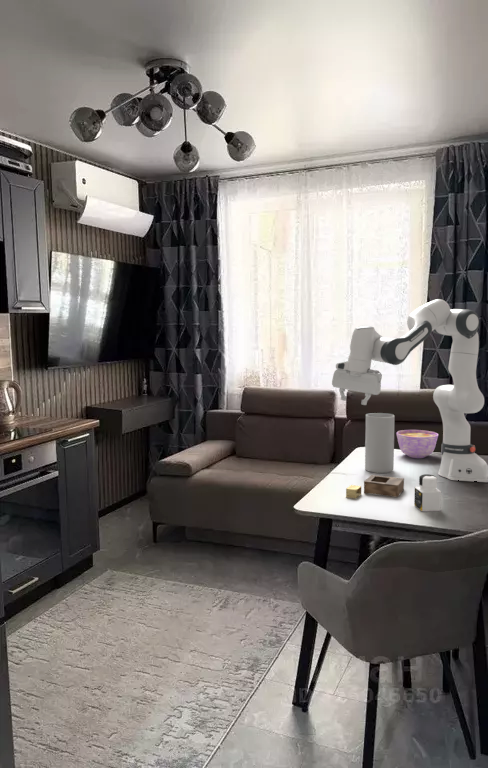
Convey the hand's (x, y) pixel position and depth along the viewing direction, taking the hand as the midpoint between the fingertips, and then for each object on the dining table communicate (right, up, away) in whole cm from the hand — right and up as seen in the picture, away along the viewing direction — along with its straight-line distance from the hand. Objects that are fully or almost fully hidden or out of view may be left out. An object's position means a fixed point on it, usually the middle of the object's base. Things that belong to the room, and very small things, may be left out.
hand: (353, 402), depth 227 cm
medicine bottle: (+23, -37, -19) cm, 48 cm away
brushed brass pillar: (0, -36, -3) cm, 36 cm away
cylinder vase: (+18, -32, +36) cm, 51 cm away
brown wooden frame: (+13, -35, +2) cm, 37 cm away
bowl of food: (+43, -29, +62) cm, 81 cm away
